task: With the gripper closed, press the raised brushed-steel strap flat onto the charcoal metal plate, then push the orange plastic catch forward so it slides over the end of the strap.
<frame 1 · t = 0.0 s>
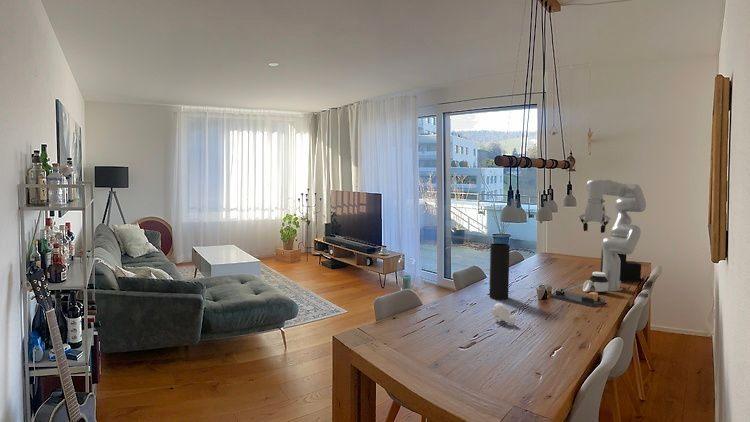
hand: (594, 231, 258), 37 cm above the table, tool pointing down, fingers open, 9 cm apart
bookend: (621, 279, 301), on the table
strap: (570, 288, 254), point 5 cm above the table, hinge at 30.0°
plate: (577, 299, 251), on the table
spread jar: (594, 292, 268), on the table
white rounded lump: (504, 323, 212), on the table
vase: (498, 297, 256), on the table
catch: (591, 296, 245), point 4 cm above the table, slide at 0.0 cm
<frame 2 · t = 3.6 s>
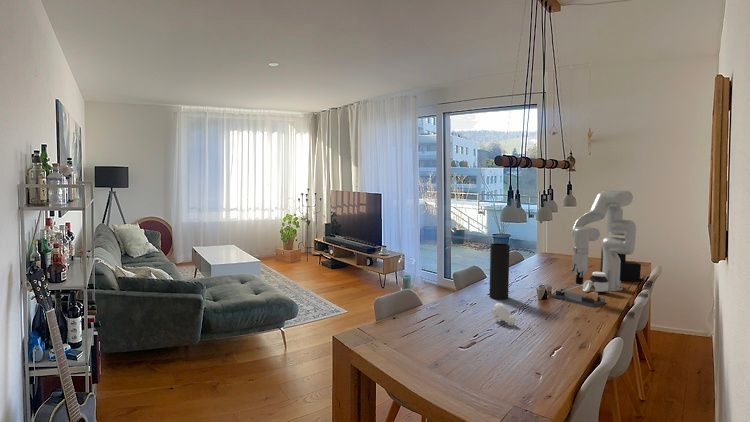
hand: (579, 283, 249), 9 cm above the table, tool pointing down, fingers closed
strap: (570, 288, 254), point 5 cm above the table, hinge at 28.7°, touching gripper
everything else where it was.
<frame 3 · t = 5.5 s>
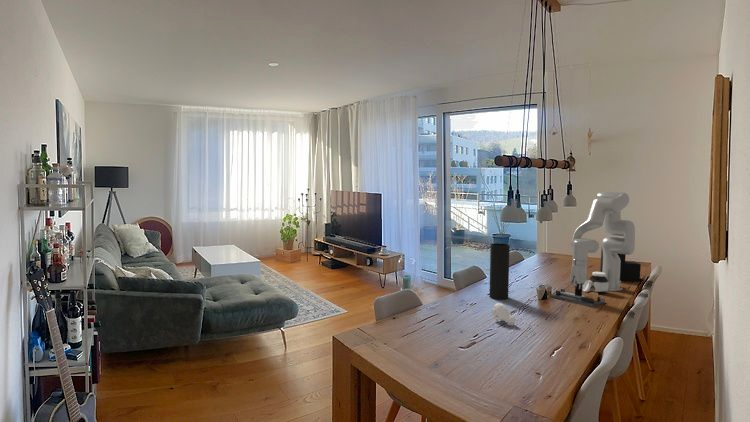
hand: (578, 295, 250), 3 cm above the table, tool pointing down, fingers closed
strap: (571, 294, 254), point 2 cm above the table, hinge at 1.1°, touching gripper
everything else where it was.
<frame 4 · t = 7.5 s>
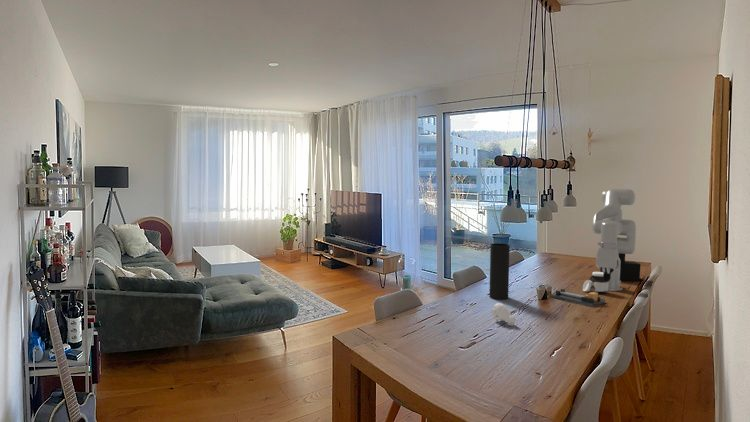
hand: (606, 280, 238), 14 cm above the table, tool pointing down, fingers closed
strap: (571, 294, 254), point 2 cm above the table, hinge at 1.1°
everything else where it was.
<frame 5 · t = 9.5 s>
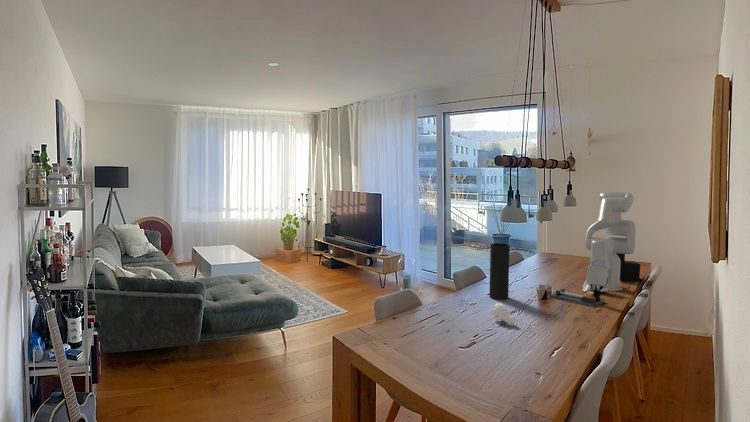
hand: (596, 297, 243), 4 cm above the table, tool pointing down, fingers closed
catch: (588, 295, 246), point 4 cm above the table, slide at 1.2 cm, touching gripper
everything else where it was.
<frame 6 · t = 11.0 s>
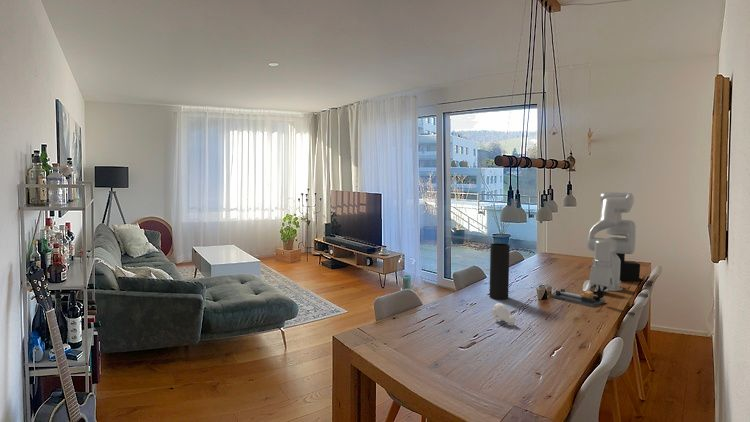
hand: (600, 297, 241), 4 cm above the table, tool pointing down, fingers closed
catch: (586, 295, 247), point 4 cm above the table, slide at 2.6 cm
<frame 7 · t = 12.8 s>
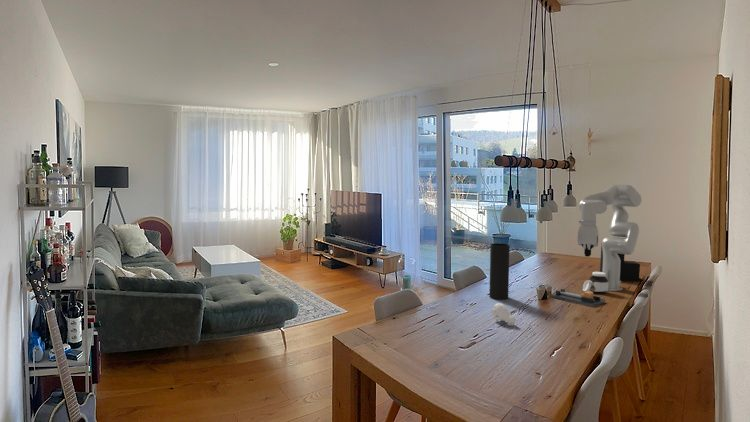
hand: (587, 256, 254), 24 cm above the table, tool pointing down, fingers closed
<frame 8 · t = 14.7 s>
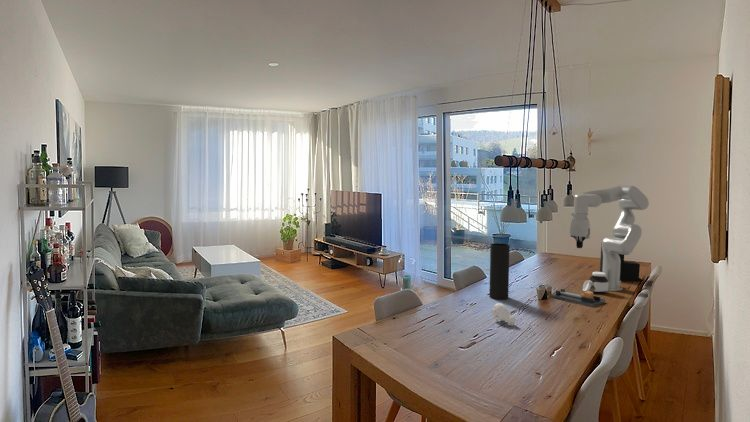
hand: (579, 247, 261), 27 cm above the table, tool pointing down, fingers closed
at the end: strap at +1° (first picture: +30°); catch slide at 2.6 cm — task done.
